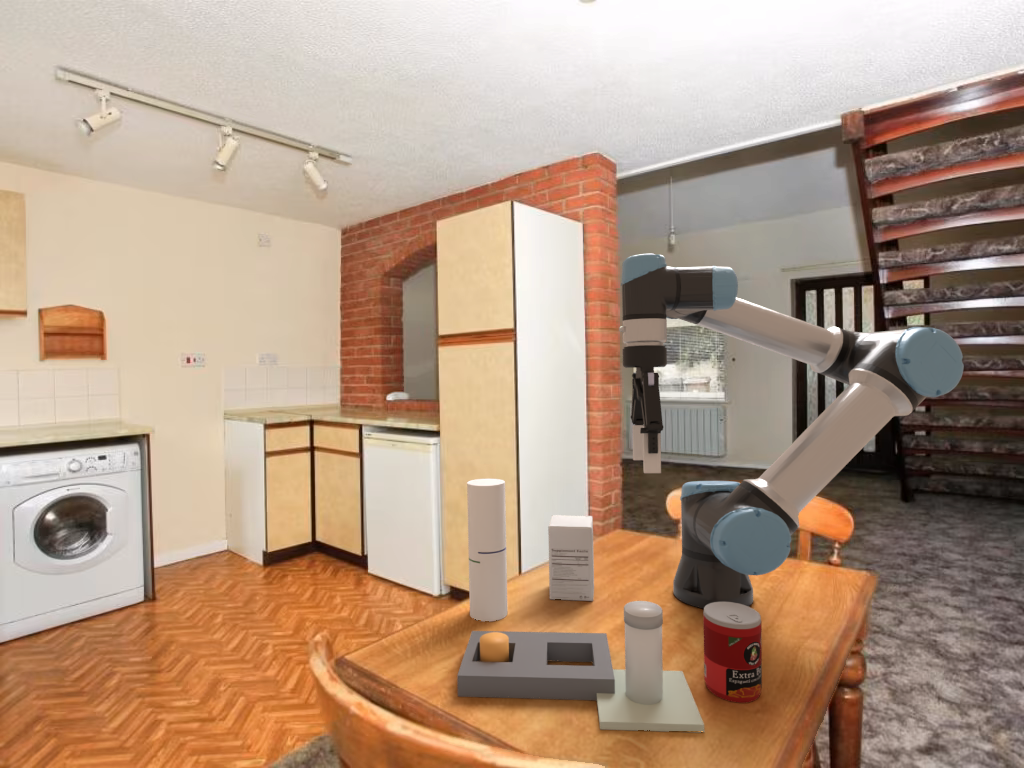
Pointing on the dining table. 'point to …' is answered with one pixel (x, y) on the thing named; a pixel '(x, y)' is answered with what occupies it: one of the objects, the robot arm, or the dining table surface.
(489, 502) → the cylindrical container
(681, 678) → the mat
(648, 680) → the cartridge
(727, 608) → the canned food
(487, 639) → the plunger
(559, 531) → the supplement box
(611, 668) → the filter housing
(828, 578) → the dining table surface
